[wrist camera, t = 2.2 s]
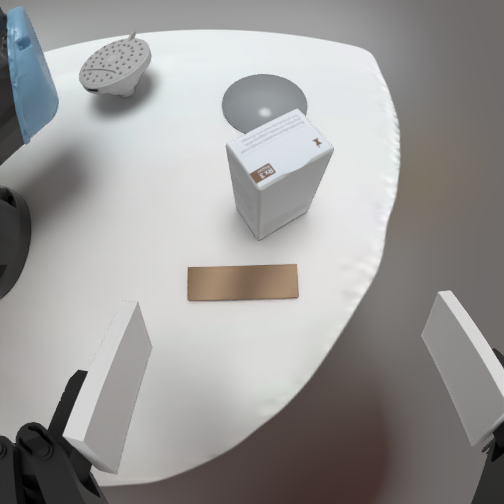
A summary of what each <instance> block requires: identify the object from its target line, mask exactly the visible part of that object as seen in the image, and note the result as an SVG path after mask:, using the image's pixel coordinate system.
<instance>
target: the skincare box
mask: <svg viewBox="0 0 504 504" xmlns="http://www.w3.org/2000/svg"><path fill="white" fill-rule="evenodd" d="M226 150H227V157H228V162H229V168H230V174H231V180H232V185H233V192H234V197H235V203H236V208H237V209H238V211H239V212H240V214H241V215H242V217H243V218H244V220H245V221H246V223H247V224H248V226H249V227H250V229H251V231H252V232H253V234H254V235H255V237H256V239H257V240H261V239H262V238H264V237H266V236H267V235H269V234H271V233H272V232H274V231H276V230H277V229H279V228H280V227H282V226H284V225H285V224H287V223H289V222H290V221H292V220H294V219H295V218H297V217H299V216H300V215H302V214H304V213H305V212H307V211H308V209H309V207H310V204H311V202H312V200H313V198H314V195H315V193H316V191H317V188H318V186H319V184H320V181H321V179H322V177H323V175H324V172H325V170H326V168H327V165H328V163H329V161H330V158H331V156H332V153H333V151H334V147H333V146H332V145H331V144H330V143H329V141H328V140H327V139H326V138H325V137H324V136H323V135H322V133H321V132H320V131H319V130H318V129H317V128H316V127H315V126H314V125H313V124H312V122H311V121H310V120H309V119H308V118H307V117H306V116H305V115H304V114H303V113H302V112H301V111H300V110H299V109H295V110H293V111H291V112H289V113H286V114H284V115H282V116H280V117H278V118H276V119H274V120H272V121H270V122H268V123H266V124H264V125H262V126H260V127H258V128H256V129H254V130H252V131H250V132H248V133H246V134H244V135H242V136H240V137H238V138H237V139H235V140H233V141H231V142H229V143H227V144H226Z"/></svg>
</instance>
